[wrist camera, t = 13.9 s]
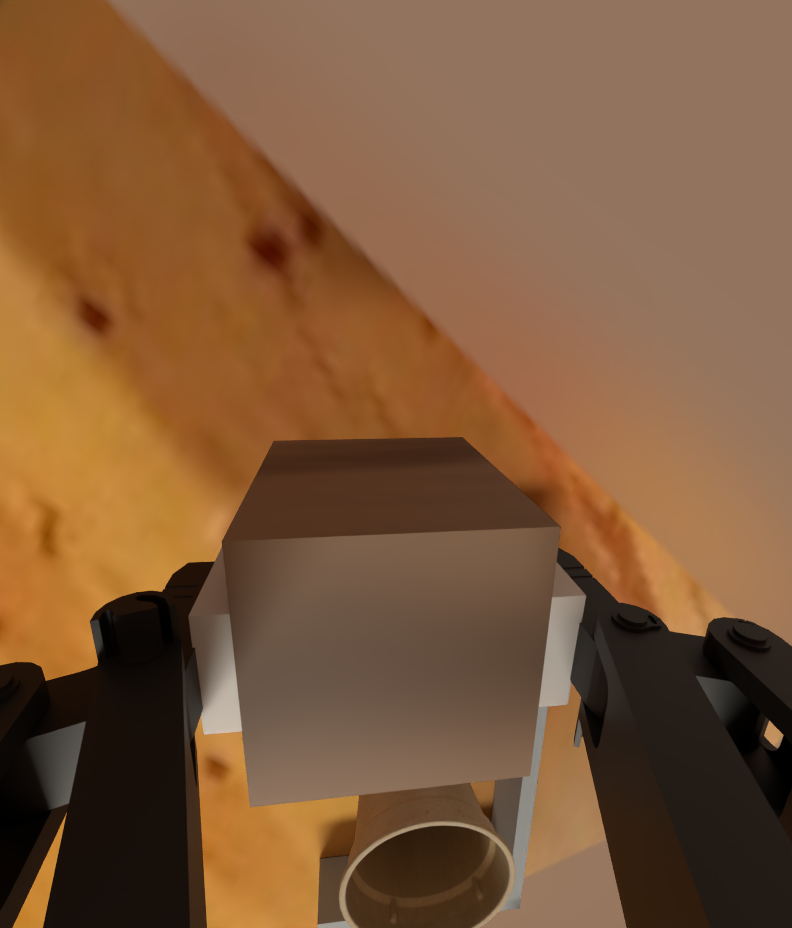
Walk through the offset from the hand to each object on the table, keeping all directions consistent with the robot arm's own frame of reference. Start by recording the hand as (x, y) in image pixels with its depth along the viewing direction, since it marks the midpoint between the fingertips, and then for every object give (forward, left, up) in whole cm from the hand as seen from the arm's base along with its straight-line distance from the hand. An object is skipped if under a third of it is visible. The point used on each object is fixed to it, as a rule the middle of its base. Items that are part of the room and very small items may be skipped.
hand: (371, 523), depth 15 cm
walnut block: (0, 0, 0) cm, 0 cm away
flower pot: (+22, +3, -11) cm, 25 cm away
